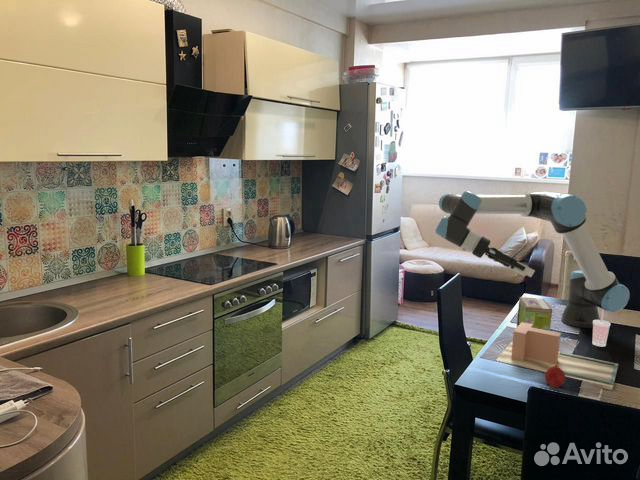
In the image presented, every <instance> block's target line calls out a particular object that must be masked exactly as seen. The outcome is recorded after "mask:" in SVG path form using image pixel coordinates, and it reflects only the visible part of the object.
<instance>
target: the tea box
mask: <svg viewBox="0 0 640 480" xmlns="http://www.w3.org/2000/svg"><path fill="white" fill-rule="evenodd" d="M552 314H553V308H552V306H550V304H549V303H548V301H546V300H545V298H537V297H526V296H519V300H518V311H517V320H516V328H517V327H518V326H519V325H520V323H521V322H523V323H528V324H533V328H537V329H542V330H547V331H551V324H552Z"/></svg>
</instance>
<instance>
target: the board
mask: <svg viewBox="0 0 640 480" xmlns="http://www.w3.org/2000/svg"><path fill="white" fill-rule="evenodd" d="M512 344H513V341H511V342H510V343H508V345H507V346H506V348H505V349H504V350H503V352H501V354H500V355H499V356H498V357H497V358H496V359H495V361H496V362H501V363H505V364H510V365H515V366H518V367H523V368H527V369H531V370H535V371H541V372H544V373H546V372H547V370H548V369H550V368H551V367H553V366H555V365H558V367H559V368H560V369H561V370H562V371H563V372H564V374H565V378H566V377H567V378H571V379H575V380H580V381H583V382H588V383H592V384H597V385H600V387H601V389H606V390H610V391H613V390H614V389H613V388H614V384H615V381H616V377H617V372H618V369H619V363H617V362H616V363H615V362H612V361H611V362H610V361H605V360H601V359H596V358H592V357H589V356H587V357H586V356H582V355H577V354H573V353H568V352H563V351H559V355H558V361H557V363H556V364H553V363H549V362H544V361H540V360H535V359H531V358H525V359H524V360H523V361H521V360H516V359H512V358H511V355H512Z"/></svg>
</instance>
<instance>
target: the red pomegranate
mask: <svg viewBox="0 0 640 480" xmlns="http://www.w3.org/2000/svg"><path fill="white" fill-rule="evenodd" d="M544 380H545V381H546V383H547V384H548V385H549V386H550V387H551V388H552V389H554V390H555V389H558V388H559V387H561V386H563V385H564V384H565V383H566V376H565V374H564V372H563V371H562V370H561V369H560V368H559V367H558V365H555V366H553V367H551V368H550V369H548V370H547V372H545V374H544Z"/></svg>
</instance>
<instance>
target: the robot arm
mask: <svg viewBox="0 0 640 480" xmlns="http://www.w3.org/2000/svg"><path fill="white" fill-rule="evenodd" d="M438 207H439V209H440V210H441V211H442V212H443V213H445V214H448V215H449V214H450V215H449V216H446V215H444V216H442V218H441V220H440V221H439V223H438V224H437V227H436V229H435V233H436V235H437V236H439V237H441V238H443V239H444V240H445V241H448V242H449V243H452V244H453V245H455V246H457V247H459V248H461V251H462V252H465V251H466V252H468V253H471V254H472V255H473V256H475V257H477V258H479V259H481V258H482V257H483V256H484V255H485V256H487V258H489V259H490V260H493V261H495V262H498V263H499V264H501V265H503V266H504V267H506V268H509V269H510V270H511V271H513V272H515V273H517V274H519V275H520V276H521V275H522V277H526V276H527V277H529V278H532V276H533V275H534V273H535V272H536V270H535V269H534V268H531V267H529V266H528V265H526V264H524V263H521V262H520V261H518V260H517V259H516V258H513V257H511V256H509V255H507V254H505V253H503V252H502V251H501V250H498V249H497V248H495V247H489V246H490V245H491V240H490V239H488V238H486V237H485V236H481V234H479V233H478V232H476V231H475V230H472V229H470V228H468V226H469V225H470V222H471V221H472V220H473V218H474V217H475V214H476V215H484V214H485V215H486V214H487V215H491V214H492V215H520V216H522V217H529V218H535V219H540V220H543V221H546V222H550V224H551V225H552V227H553V229H554V230H555V233H557V234H559V235H562V237H563V239H564V240H565V242H566V245H567V246H568V248H569V250H570V253H571V254H572V256H573V257H574V259H575V261H576V263H577V265H578V267H579V269H580V270H573V271H571V274H570V278H569V284H568V285H569V286H568V288H569V289H568V296H567V297H568V298H567V304H566V306H565V308H564V311H563V313H562V315H561V321H562V322H563V323H564V324H566V325H569V326H572V327H576V328H581V329H593V320H601V318H600V314H599V309H601V310H604V311H606V312H610V313H616V312H620V311H621V310H623V309H625V307H626V306H627V304H628V302H629V300H630V297H631V296H630V295H631V293H630V290H629V288H628V287H627V286H625V285H624V284H622V283H620V282H619V281H618V278H617V277H616V275H615V274H614V272H613V271H608V268H607V266H606V264H605V262H604V260H603V259H602V256H601V255H600V253H599V251H598V249H597V247H596V245H595V243H594V241H593V239H592V237H591V236H590V235H591V234H590V233H589V232H588V229H587V227H586V225H585V224H586V222H587V215H586V213H588V212H587V206H586V203H585V202H584V201H583V199H582V198H581V197H579V196H577V195H575V194H572V193H563V192H562V193H561V192H557V191H537V192H523V193H521V194H519V195H518V194H515V195H514V194H513V195H512V194H511V195H510V194H475V193H473V192H471V191H468V190H466V191H463V192H462V194H453V193H445V194H443V195H442V196H440V198H439V200H438Z"/></svg>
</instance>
